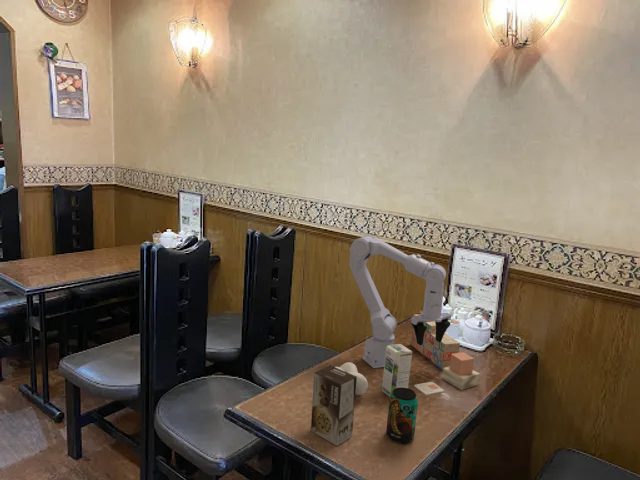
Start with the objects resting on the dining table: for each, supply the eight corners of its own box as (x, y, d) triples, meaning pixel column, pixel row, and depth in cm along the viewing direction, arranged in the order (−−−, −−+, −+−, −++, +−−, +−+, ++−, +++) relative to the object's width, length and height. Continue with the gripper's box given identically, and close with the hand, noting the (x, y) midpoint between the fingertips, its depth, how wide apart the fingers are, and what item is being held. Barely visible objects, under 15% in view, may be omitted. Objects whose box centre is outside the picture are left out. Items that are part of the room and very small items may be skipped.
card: (425, 395, 141) (425, 393, 141) (413, 386, 147) (414, 384, 147) (444, 391, 144) (444, 390, 144) (432, 382, 150) (432, 381, 150)
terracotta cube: (459, 375, 148) (461, 360, 147) (449, 368, 152) (451, 353, 151) (472, 373, 150) (474, 358, 149) (461, 366, 154) (463, 352, 153)
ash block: (461, 390, 147) (462, 378, 146) (441, 379, 153) (443, 367, 152) (478, 385, 151) (479, 373, 150) (458, 374, 157) (460, 363, 157)
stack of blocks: (457, 368, 161) (461, 334, 159) (441, 370, 160) (445, 335, 157) (424, 343, 181) (428, 312, 179) (410, 344, 179) (413, 313, 177)
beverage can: (381, 437, 119) (385, 393, 117) (393, 425, 125) (397, 383, 122) (407, 448, 115) (412, 403, 113) (418, 435, 121) (423, 392, 119)
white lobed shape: (318, 387, 142) (320, 359, 140) (355, 384, 146) (357, 356, 144) (330, 407, 131) (332, 377, 130) (370, 403, 135) (373, 374, 134)
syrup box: (380, 390, 143) (385, 345, 140) (396, 387, 145) (401, 343, 143) (391, 400, 138) (396, 353, 135) (408, 396, 140) (413, 350, 138)
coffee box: (353, 436, 119) (358, 376, 116) (336, 447, 114) (341, 385, 111) (325, 421, 125) (330, 363, 122) (309, 430, 120) (313, 371, 117)
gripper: (422, 308, 146) (418, 350, 148) (459, 304, 152) (454, 344, 154) (408, 301, 152) (405, 341, 155) (444, 298, 158) (440, 336, 161)
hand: (428, 342), depth 155 cm, fingers open, 7 cm apart
